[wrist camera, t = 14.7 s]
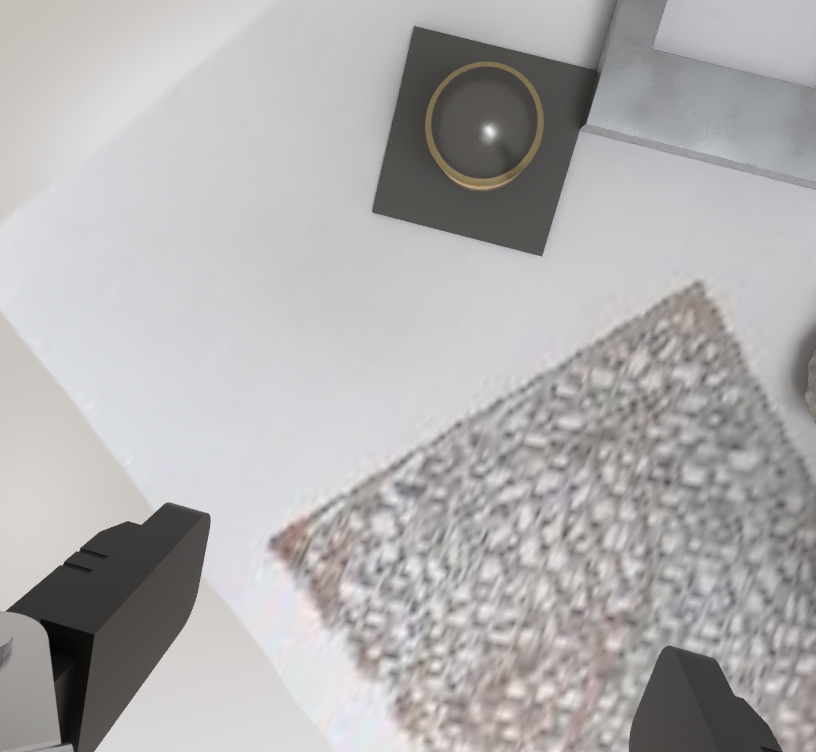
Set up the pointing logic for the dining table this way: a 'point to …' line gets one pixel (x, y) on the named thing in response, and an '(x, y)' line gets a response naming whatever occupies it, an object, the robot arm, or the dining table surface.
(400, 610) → the dining table surface
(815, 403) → the mineral
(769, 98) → the block
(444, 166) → the tan cylinder
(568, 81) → the mat
